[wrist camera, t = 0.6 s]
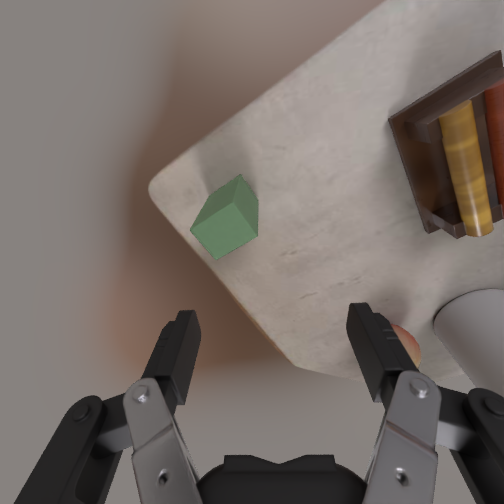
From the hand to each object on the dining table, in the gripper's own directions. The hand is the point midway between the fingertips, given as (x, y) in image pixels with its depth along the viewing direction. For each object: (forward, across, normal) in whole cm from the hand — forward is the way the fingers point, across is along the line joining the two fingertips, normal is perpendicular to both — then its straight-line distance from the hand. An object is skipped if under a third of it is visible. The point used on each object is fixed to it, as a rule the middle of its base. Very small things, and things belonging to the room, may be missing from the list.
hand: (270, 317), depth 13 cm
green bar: (+21, +4, 0) cm, 21 cm away
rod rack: (+21, -22, -3) cm, 30 cm away
